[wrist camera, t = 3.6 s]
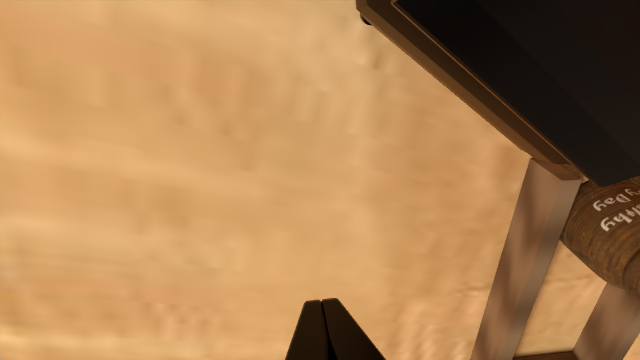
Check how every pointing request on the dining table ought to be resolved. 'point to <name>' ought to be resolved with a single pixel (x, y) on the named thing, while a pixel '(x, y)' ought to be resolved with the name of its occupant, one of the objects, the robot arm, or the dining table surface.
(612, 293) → the tray
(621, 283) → the utensil holder
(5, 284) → the dining table surface
